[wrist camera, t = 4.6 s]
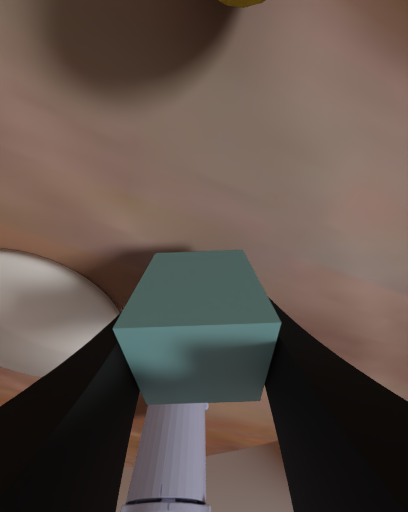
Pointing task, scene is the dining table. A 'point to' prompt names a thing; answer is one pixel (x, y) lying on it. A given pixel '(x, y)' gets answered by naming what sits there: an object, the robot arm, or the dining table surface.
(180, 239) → the dining table surface
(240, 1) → the lemon
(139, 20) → the dining table surface
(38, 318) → the plate
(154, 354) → the cube
